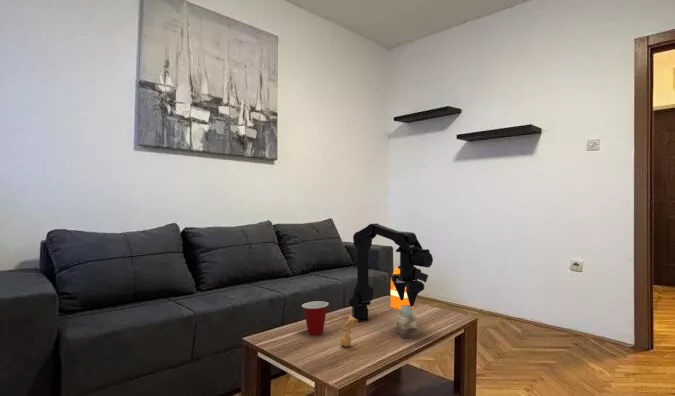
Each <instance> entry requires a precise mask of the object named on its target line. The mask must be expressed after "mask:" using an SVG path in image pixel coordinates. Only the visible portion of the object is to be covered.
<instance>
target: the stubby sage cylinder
mask: <svg viewBox="0 0 675 396" xmlns="http://www.w3.org/2000/svg"><path fill="white" fill-rule="evenodd" d="M400 314H401V317H404V318H411V317H412V315H413V308H412V307H411V306H410V305H407V304H404V305H401V309H400Z"/></svg>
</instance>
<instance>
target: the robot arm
mask: <svg viewBox="0 0 675 396" xmlns="http://www.w3.org/2000/svg"><path fill="white" fill-rule="evenodd" d="M377 236H380V237H383V238H386V239H389V240H391V241H392V242H394V244H395V245H397V246H398V247H397V248H396V250H395V252H397V253H399V265H397V267H398V269H400V274H393V273H392V275H391V276H390V282H391V281H393V284H394V286H395V288H396V290H397V293H398V295H399V297H400V300H404V293H405V287H406V293H407V297H408V300H409V303H410V306H411V307H412V306H414V305H415V302H416V299H417V296H418V294H419V293H420V292H423V291H424V290H425V283H427V281H428V278H429V274H427V273H425V272H422V270H421V269H419V268H418V267H420V268H421V267H422V268H431V266H432V265H433V262H434V258H433V255H432V253H431V252H430V249H428V248H427V249H424V248H423V247H422V245H421V244H420V242H419V239H418V237H417V234H416V233H415V232H411V231H401V230H400V231H398V230H395V229H392V228H391V227H386V226H385V225H381V224H380V223H369V224H368V225H367V226H366V227H364V228H362V229H359V230H358V231H356V232H354V234H353V235H352V239H353V246H354V248H355V250H356V253H357V255H356V257H357V258H356V259H357V263H356V265H357V268H356V269H357V270H356V275H357V277H356V279H357V281H356V282H357V283H356V285H355V287H354V289H353V295H352V297H351V298H350V299H349V300H348V305H349V307H351V316H352V317H353V318H355V319H357V320H358V321H357V322H368V321H369V308H368V306H370V305H371V301H372V300H373V297H374V287H372V286H371V285H370V283H369V251H370V249H371V247H372V243H373V240H374V239H375V238H376V237H377Z"/></svg>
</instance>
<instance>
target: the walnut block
mask: <svg viewBox="0 0 675 396" xmlns="http://www.w3.org/2000/svg"><path fill="white" fill-rule="evenodd" d="M395 331H396V333H395V334H396V335H397V336H398V337H400V338H401V339H402V340H408V339H417V338H418V327H417V328H410V329H402V328H401V327H399V326H398V325H396V330H395Z"/></svg>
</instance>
